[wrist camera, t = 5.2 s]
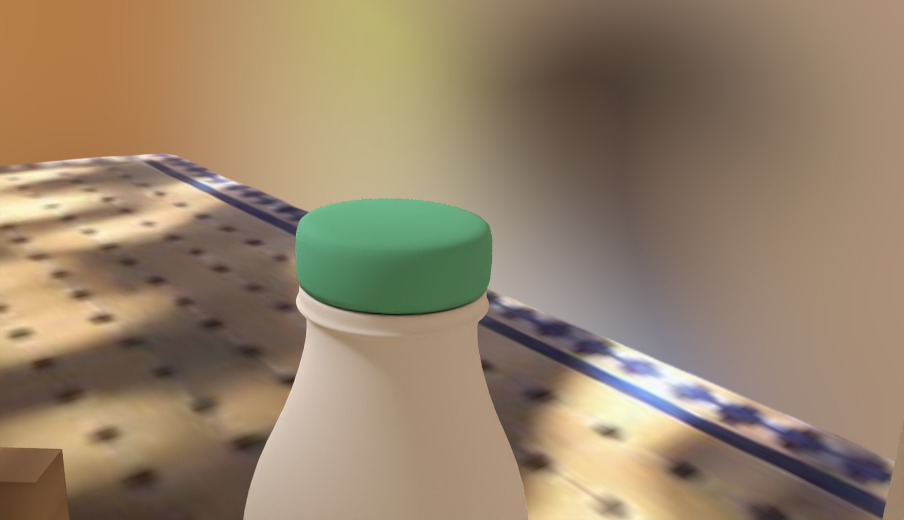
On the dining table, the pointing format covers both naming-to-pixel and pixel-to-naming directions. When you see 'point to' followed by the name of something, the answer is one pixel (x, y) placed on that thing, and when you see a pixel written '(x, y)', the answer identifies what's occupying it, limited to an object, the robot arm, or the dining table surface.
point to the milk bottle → (389, 374)
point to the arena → (32, 484)
